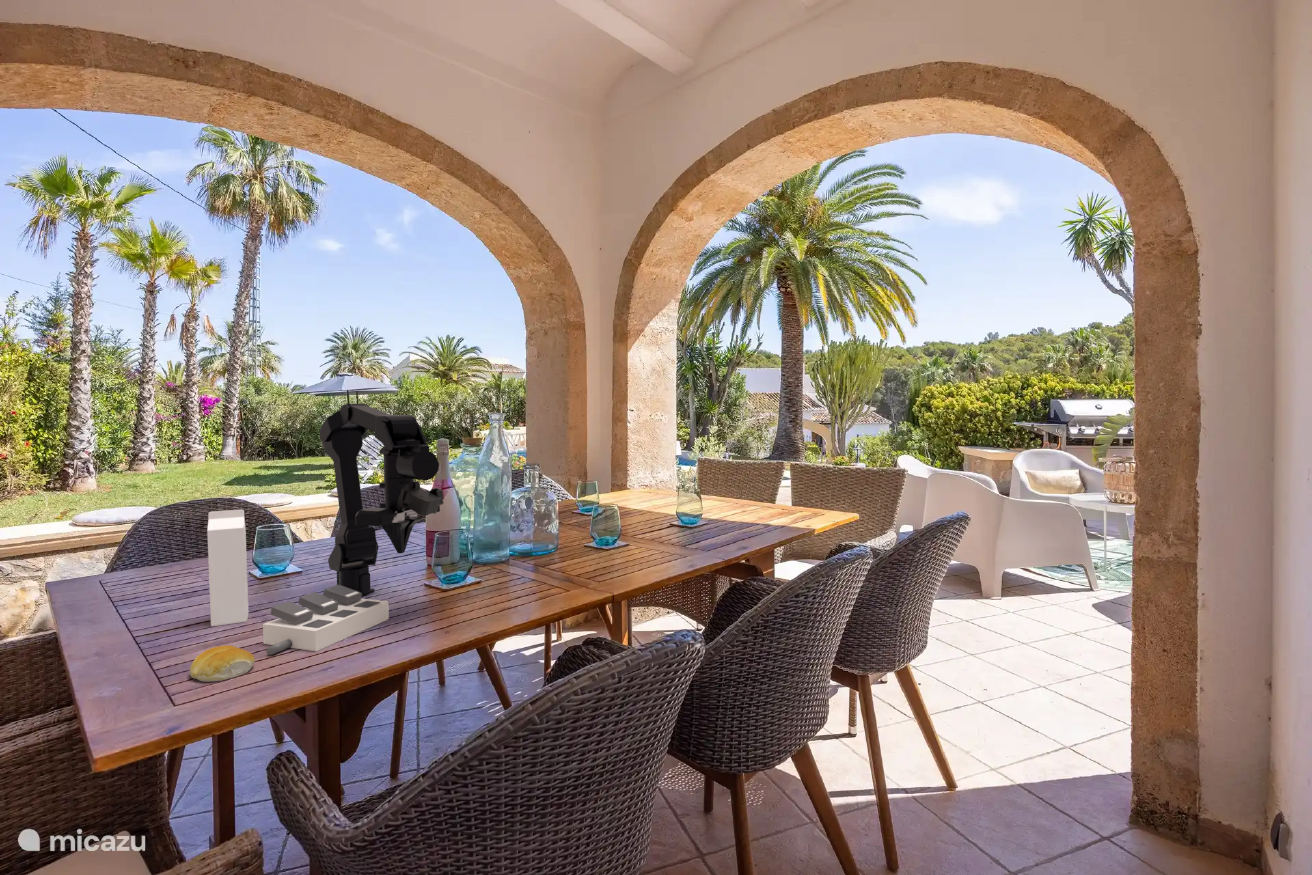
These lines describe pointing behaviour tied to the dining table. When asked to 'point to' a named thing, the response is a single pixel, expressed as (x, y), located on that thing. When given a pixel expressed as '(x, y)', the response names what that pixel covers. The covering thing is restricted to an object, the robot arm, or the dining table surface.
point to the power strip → (324, 626)
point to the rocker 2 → (342, 594)
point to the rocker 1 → (291, 612)
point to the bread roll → (221, 664)
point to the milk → (227, 567)
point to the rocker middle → (318, 603)
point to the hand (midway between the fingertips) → (401, 552)
